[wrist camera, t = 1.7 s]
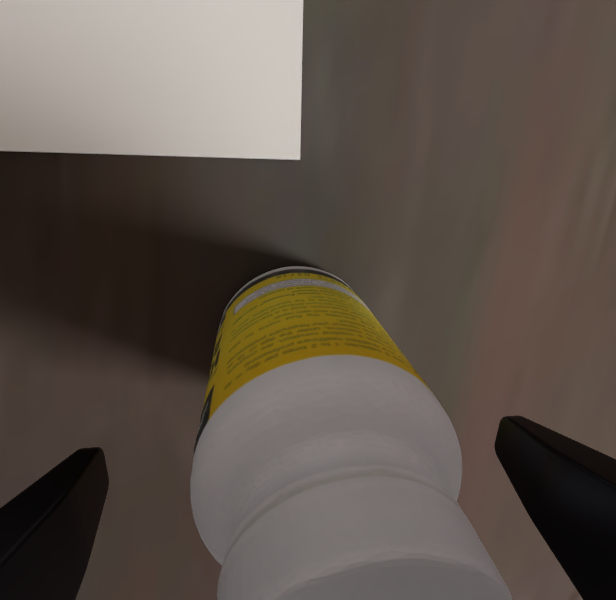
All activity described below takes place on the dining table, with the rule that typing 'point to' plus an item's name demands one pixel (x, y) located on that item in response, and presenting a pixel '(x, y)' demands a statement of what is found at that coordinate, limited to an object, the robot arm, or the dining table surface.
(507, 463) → the robot arm
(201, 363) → the dining table surface
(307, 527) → the supplement bottle
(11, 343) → the dining table surface
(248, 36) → the ceramic tile
